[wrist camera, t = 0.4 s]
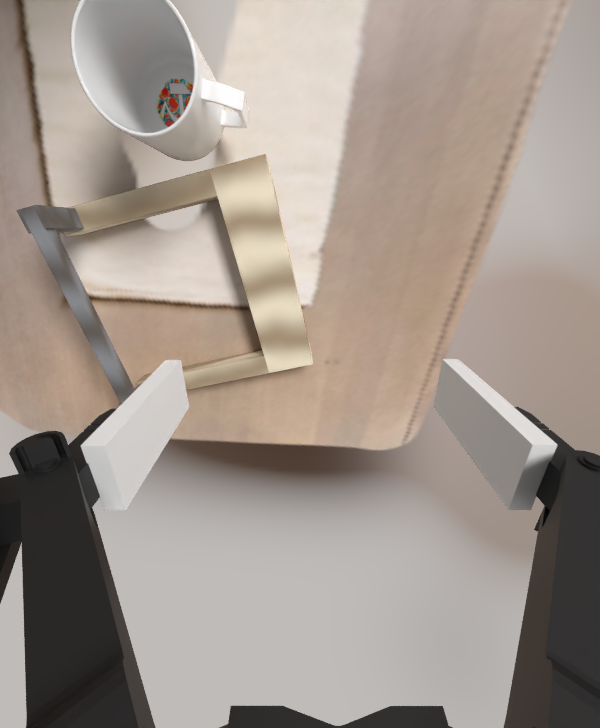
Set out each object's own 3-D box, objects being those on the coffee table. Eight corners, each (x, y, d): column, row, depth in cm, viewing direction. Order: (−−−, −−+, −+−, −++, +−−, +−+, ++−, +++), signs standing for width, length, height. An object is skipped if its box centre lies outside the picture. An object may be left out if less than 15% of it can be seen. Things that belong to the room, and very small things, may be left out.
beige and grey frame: (68, 212, 36) (10, 208, 29) (267, 159, 34) (258, 140, 27) (152, 389, 46) (123, 420, 38) (312, 356, 44) (314, 383, 36)
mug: (140, 151, 34) (73, 118, 24) (142, 45, 30) (65, -46, 20) (249, 180, 35) (231, 161, 25) (264, 82, 32) (249, 13, 21)
